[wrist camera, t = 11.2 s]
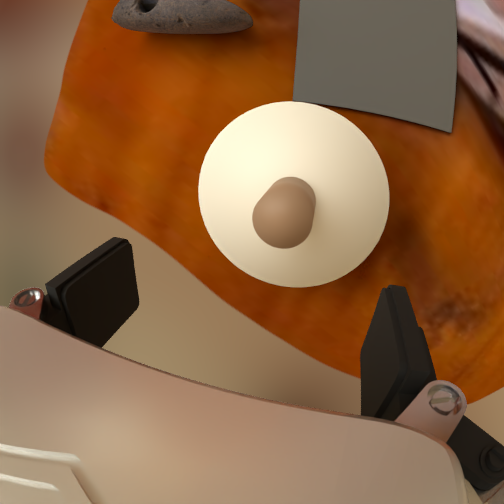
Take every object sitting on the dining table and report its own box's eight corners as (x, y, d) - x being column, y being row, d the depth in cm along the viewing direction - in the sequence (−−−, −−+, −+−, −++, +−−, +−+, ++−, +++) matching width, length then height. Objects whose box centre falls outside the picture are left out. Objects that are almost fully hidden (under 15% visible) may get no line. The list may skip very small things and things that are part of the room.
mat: (453, -3, 18) (454, -5, 17) (449, 132, 25) (451, 132, 25) (302, -35, 21) (302, -37, 20) (293, 100, 28) (292, 100, 28)
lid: (400, 120, 20) (422, 120, 15) (364, 293, 27) (369, 334, 22) (207, 97, 23) (173, 93, 18) (202, 264, 30) (175, 297, 25)
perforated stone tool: (265, 11, 24) (249, -12, 18) (250, 52, 27) (230, 37, 21) (150, -2, 26) (117, -17, 19) (137, 34, 28) (101, 25, 22)
